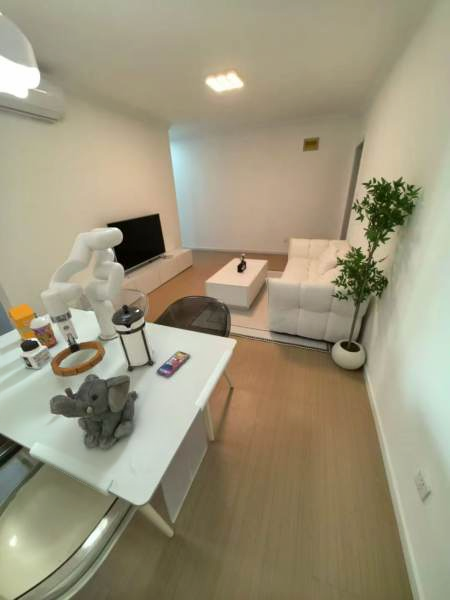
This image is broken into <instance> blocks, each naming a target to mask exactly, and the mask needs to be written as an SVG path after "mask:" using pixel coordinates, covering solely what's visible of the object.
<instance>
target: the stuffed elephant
mask: <svg viewBox="0 0 450 600" xmlns="http://www.w3.org/2000/svg"><path fill="white" fill-rule="evenodd" d="M130 387H131V377H130V376H129V375H128V374H122V375H118V376H111V377H109V378H106V379H104V378H100V377H99V376H98V375H97V374H94V373H90V374H88V375H86V376H85V378H84V380H83V383H81V384H80V386H79V388H78V389H77V392H75V393H76V395H75V397H74V399H71V398H70V397H68V396H67V395H66V394H65V395H64V394H58V395H54V396H53V397H51V399H50V400H49V409H50V410H49V411H50V413H51V414H52V415H56V416H57V415H60V416H61V415H62V416H63V417H65V418H66V419H67V418H68V419H76V418H78V419H77V424H78V427H80V428H81V430H82V431H85V433H86V434H85V435H84V437H83V446H84V447H85V448H93V447H96V446H98V445H99V446H100V448H101V449H103V450H104V449H107V448H108V449H109V448H110V447H112V446H113V445H114V444H115V443H116V442H117V440H118V439H120V438H123V437H126V436H128V435H129V434H131V433H132V431H133V429H134V428H133V427H134V425H133V419H134V415H135V405H134V404H135V403H134V400H135V399H136V398H137V396H138V393H137V391H136V390H132V391H130Z"/></svg>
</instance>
